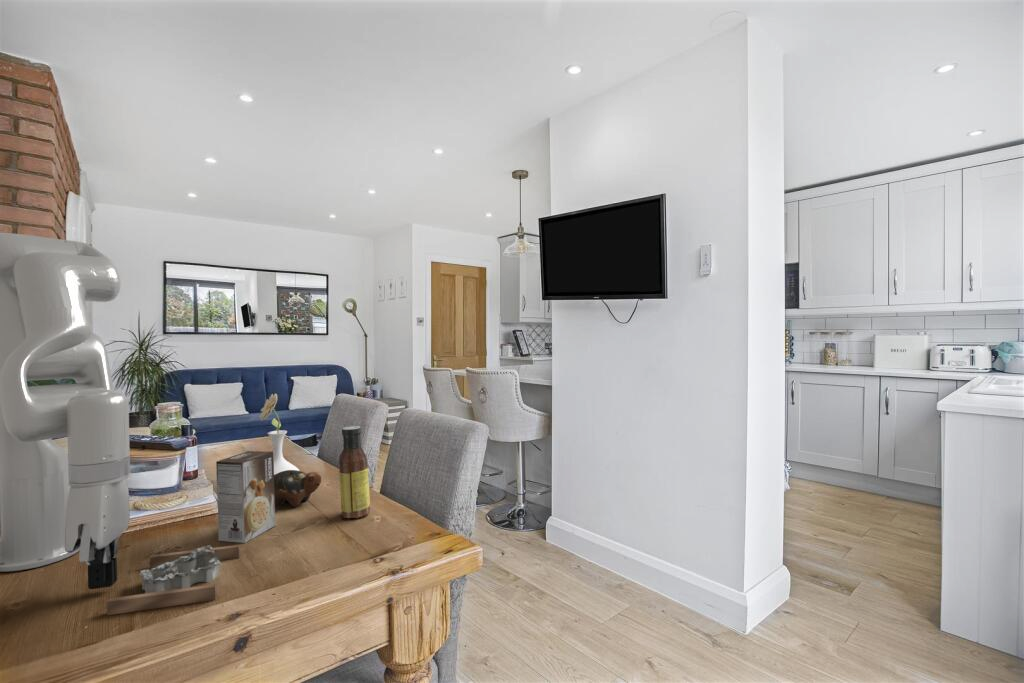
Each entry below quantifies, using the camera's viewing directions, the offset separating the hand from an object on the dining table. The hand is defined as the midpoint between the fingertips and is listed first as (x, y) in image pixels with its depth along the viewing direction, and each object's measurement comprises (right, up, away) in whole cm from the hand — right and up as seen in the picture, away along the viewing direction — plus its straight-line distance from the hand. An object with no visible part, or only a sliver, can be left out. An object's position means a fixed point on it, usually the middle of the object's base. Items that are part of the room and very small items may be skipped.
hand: (103, 585), depth 79 cm
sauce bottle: (+30, -1, +33) cm, 44 cm away
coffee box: (+11, -1, +23) cm, 25 cm away
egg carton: (+10, -2, +3) cm, 11 cm away
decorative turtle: (+12, -1, +41) cm, 43 cm away
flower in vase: (0, 0, +59) cm, 58 cm away
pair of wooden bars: (+10, -1, +3) cm, 11 cm away
